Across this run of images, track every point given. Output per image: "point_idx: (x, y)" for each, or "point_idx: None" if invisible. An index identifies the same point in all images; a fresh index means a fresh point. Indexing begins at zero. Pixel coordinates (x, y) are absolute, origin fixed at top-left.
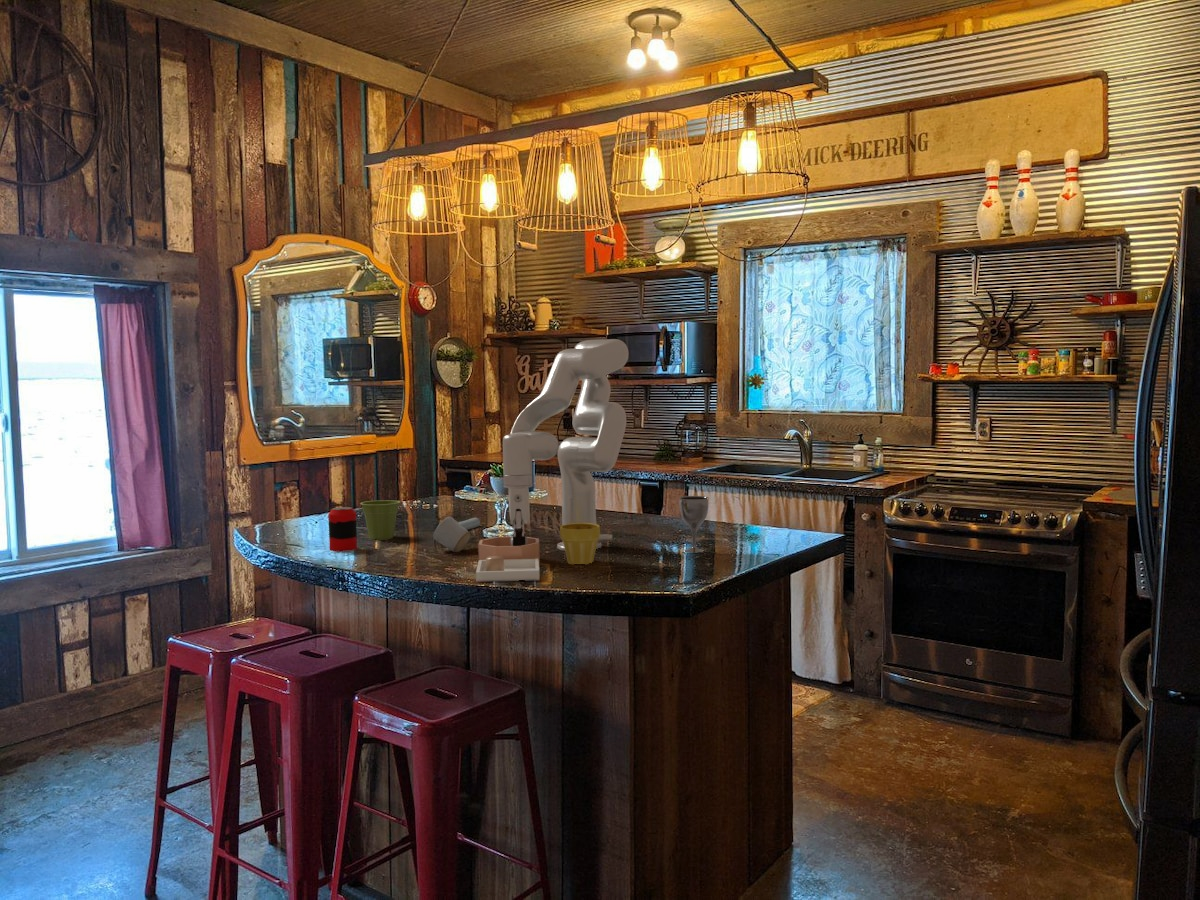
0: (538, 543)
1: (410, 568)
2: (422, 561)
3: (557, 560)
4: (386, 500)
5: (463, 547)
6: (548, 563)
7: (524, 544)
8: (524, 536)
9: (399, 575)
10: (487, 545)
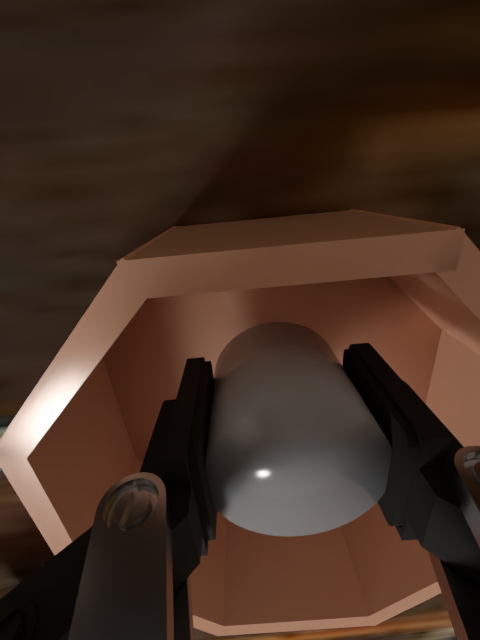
0: (463, 235)
1: (338, 632)
2: None
3: (229, 48)
4: None
5: (2, 591)
6: (349, 133)
7: (396, 382)
8: (230, 437)
9: (437, 634)
10: (434, 591)
